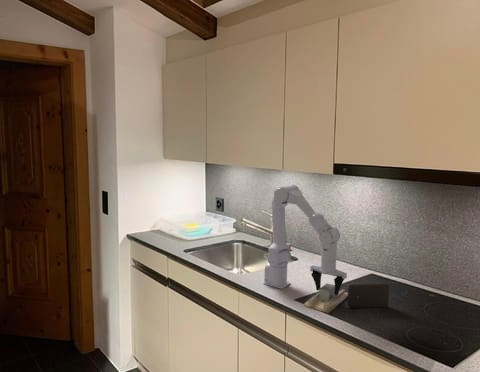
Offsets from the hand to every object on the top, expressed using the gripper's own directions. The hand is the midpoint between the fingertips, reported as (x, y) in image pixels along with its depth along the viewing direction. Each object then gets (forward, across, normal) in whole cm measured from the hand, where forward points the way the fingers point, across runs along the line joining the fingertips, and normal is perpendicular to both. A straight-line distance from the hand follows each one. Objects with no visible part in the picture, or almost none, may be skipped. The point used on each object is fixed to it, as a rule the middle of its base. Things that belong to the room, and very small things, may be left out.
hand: (327, 292), depth 158 cm
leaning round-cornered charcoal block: (+4, +15, +4) cm, 16 cm away
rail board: (+4, 0, 0) cm, 4 cm away
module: (+3, 0, 0) cm, 3 cm away
